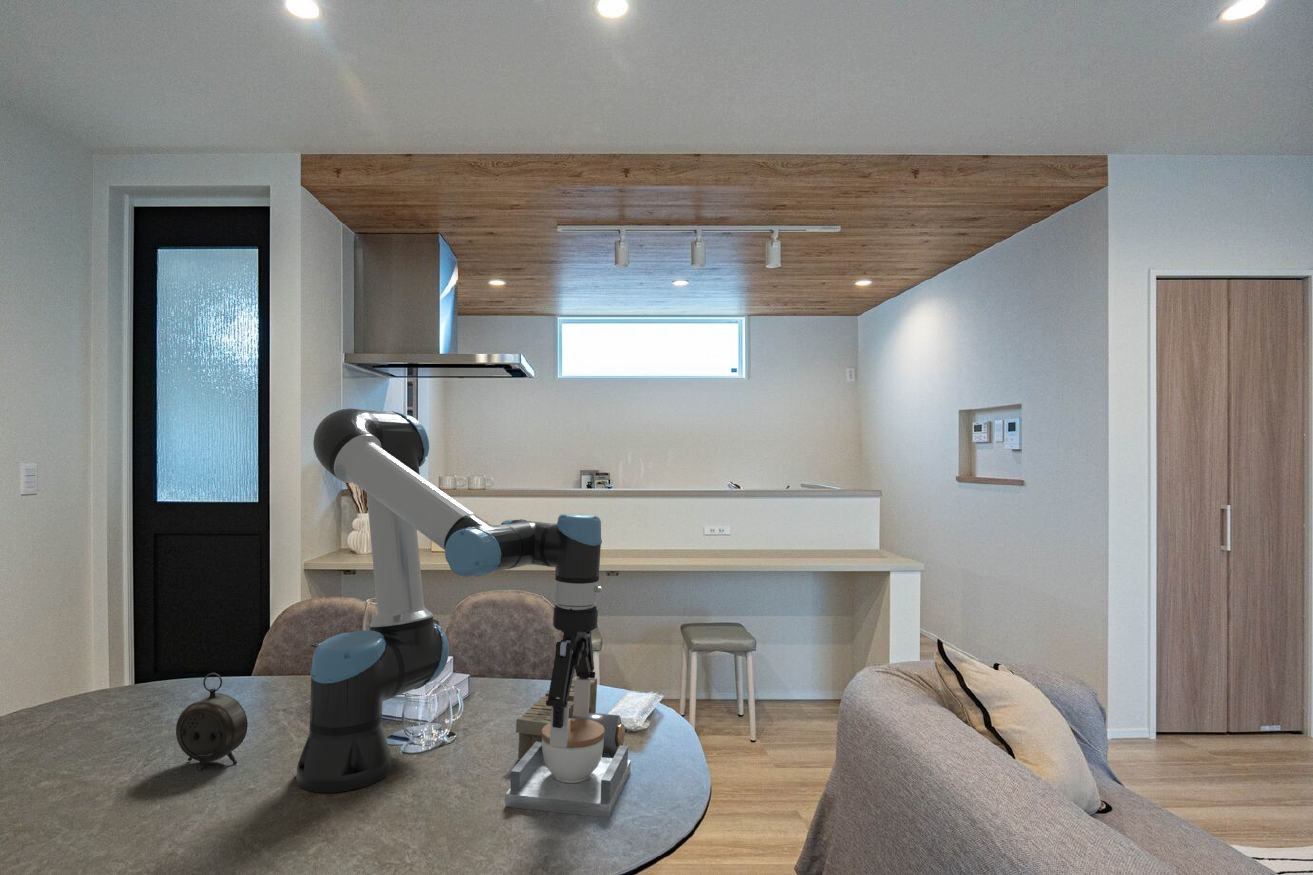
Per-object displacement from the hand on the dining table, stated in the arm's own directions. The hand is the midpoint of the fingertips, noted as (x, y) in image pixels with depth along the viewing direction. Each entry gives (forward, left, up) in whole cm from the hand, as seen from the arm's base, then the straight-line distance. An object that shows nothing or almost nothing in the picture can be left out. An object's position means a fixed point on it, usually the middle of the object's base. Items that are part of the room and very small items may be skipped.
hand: (570, 730), depth 122 cm
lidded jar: (0, 0, -8) cm, 8 cm away
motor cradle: (0, +5, -10) cm, 11 cm away
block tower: (-9, +22, -10) cm, 26 cm away
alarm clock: (-65, -5, -10) cm, 65 cm away
